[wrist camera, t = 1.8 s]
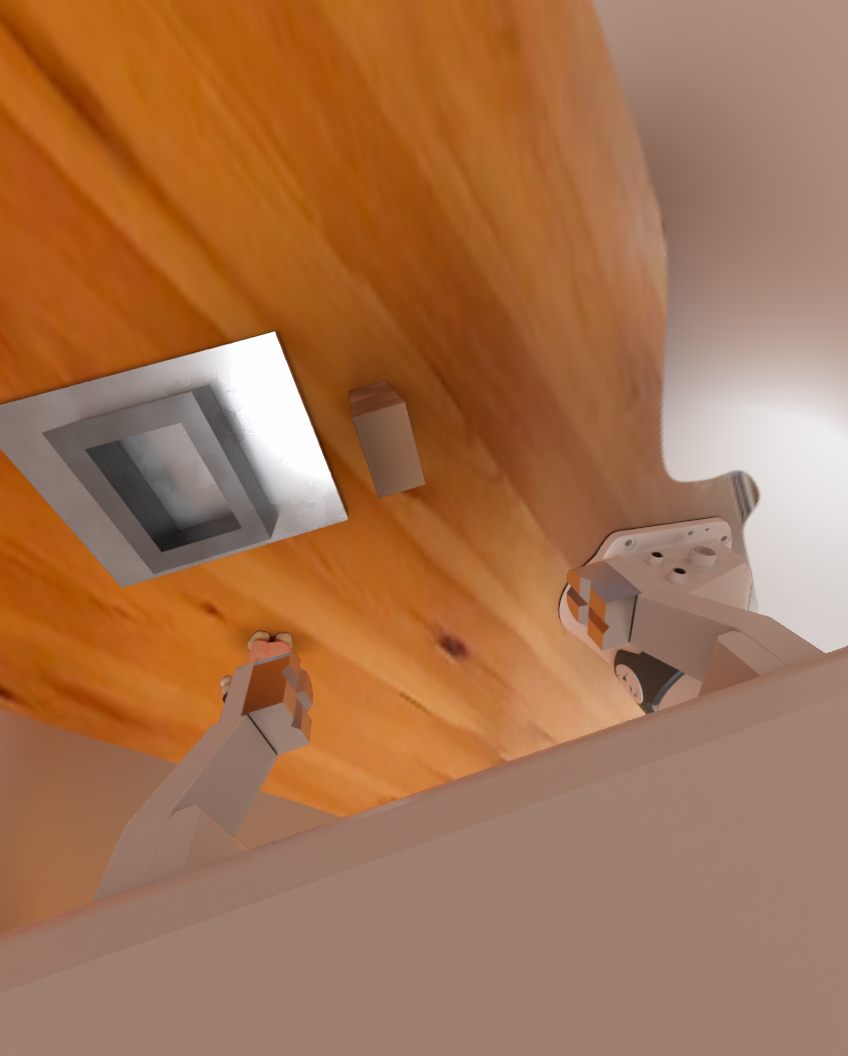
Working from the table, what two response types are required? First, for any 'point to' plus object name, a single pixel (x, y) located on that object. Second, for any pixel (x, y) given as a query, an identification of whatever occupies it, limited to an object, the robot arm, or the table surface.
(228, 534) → the grey socket base
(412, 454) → the walnut wedge
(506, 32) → the table surface
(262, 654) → the grandmother figurine
